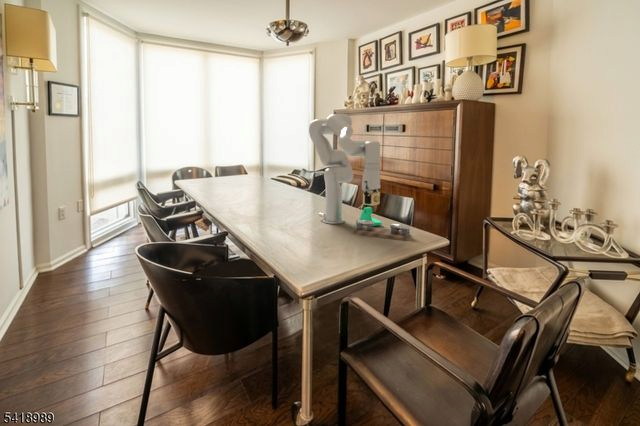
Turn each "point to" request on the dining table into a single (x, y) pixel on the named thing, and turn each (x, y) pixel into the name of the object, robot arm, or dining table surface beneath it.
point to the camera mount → (369, 216)
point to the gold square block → (373, 198)
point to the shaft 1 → (364, 224)
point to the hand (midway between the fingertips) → (371, 202)
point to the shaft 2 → (397, 227)
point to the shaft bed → (381, 233)
